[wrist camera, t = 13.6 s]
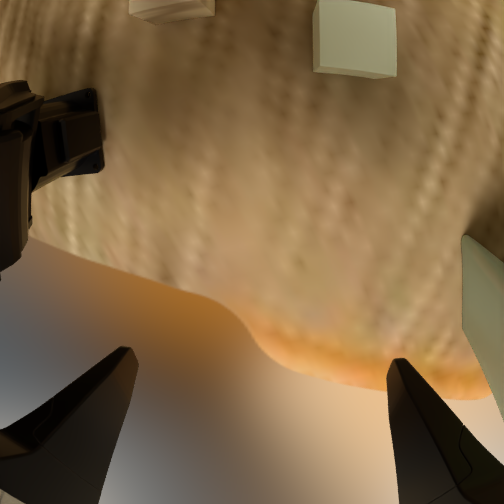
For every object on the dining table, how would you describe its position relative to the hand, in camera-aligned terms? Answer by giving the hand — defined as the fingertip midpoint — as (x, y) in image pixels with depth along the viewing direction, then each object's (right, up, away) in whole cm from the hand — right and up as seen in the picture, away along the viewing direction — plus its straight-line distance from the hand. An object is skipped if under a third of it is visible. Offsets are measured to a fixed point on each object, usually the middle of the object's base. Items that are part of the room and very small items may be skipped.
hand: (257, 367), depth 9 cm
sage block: (+5, +16, +5) cm, 18 cm away
